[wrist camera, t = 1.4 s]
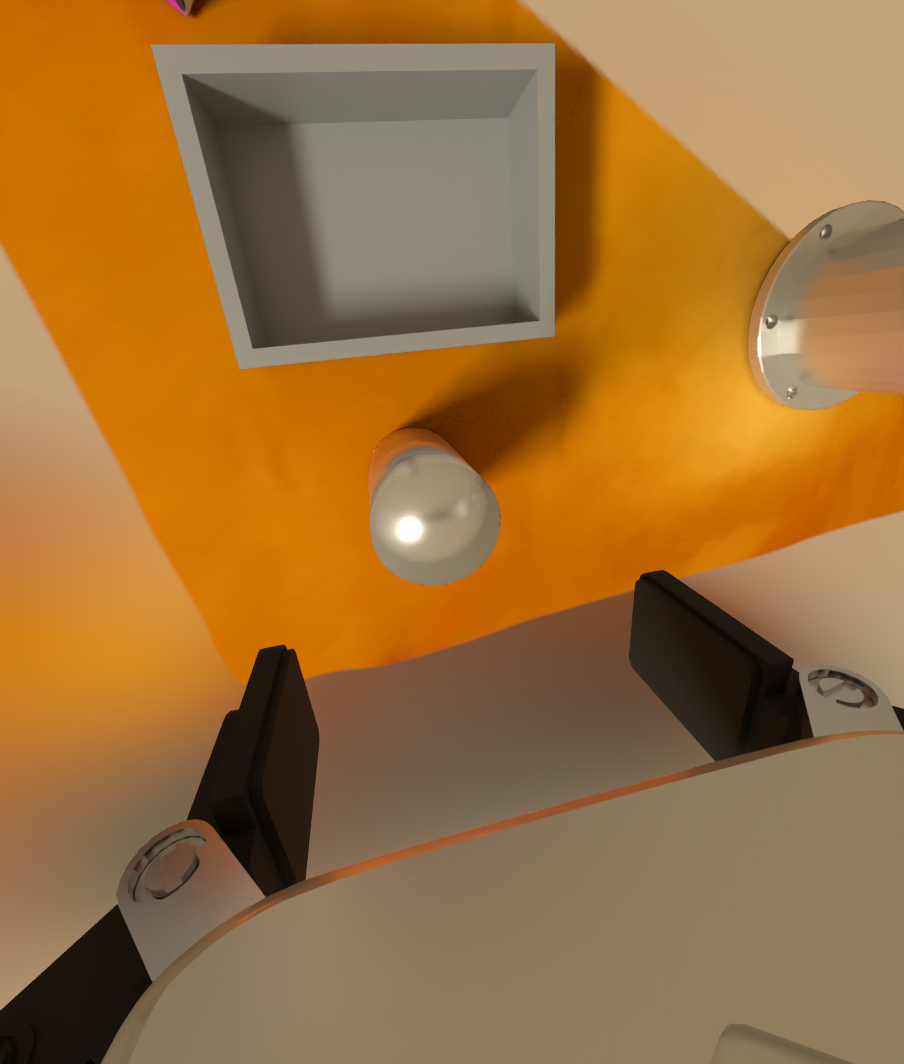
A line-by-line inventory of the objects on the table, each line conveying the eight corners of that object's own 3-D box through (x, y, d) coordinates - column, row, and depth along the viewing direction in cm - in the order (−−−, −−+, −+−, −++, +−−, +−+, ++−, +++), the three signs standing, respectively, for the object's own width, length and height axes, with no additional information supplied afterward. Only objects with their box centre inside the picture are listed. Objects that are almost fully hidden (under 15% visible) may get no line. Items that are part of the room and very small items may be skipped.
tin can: (453, 421, 28) (497, 453, 19) (461, 508, 30) (503, 573, 21) (360, 433, 27) (359, 473, 18) (376, 521, 29) (382, 595, 20)
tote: (515, 107, 22) (555, 42, 18) (522, 339, 27) (554, 336, 22) (198, 115, 20) (150, 44, 16) (262, 366, 24) (239, 369, 20)
